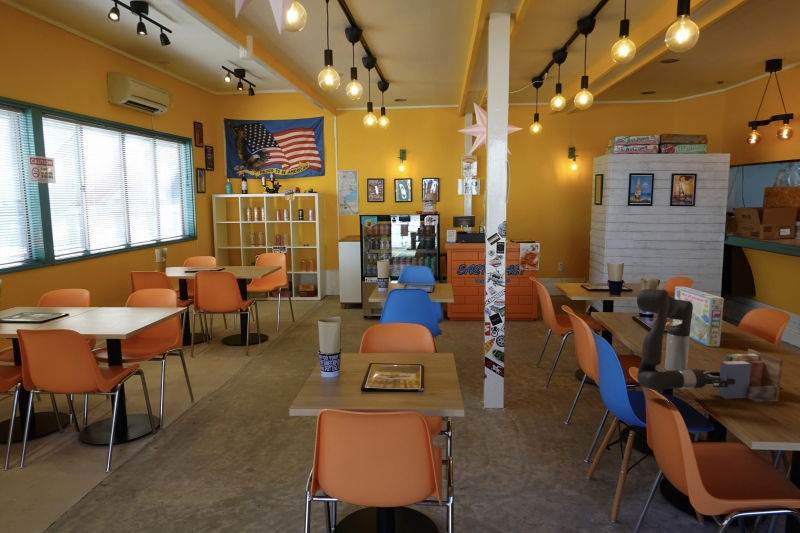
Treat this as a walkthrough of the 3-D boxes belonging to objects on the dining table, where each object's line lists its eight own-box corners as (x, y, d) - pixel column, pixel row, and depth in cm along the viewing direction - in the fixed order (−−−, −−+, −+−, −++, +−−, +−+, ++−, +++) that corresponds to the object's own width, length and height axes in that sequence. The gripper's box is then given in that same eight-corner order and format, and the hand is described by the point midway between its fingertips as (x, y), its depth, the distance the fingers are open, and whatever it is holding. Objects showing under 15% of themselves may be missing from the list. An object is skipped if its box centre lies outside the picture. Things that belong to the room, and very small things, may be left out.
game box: (720, 347, 288) (724, 298, 285) (707, 347, 288) (711, 297, 285) (683, 329, 328) (686, 286, 325) (671, 329, 328) (674, 286, 325)
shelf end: (754, 401, 208) (758, 362, 206) (721, 385, 226) (724, 349, 224) (782, 401, 209) (786, 361, 207) (747, 384, 228) (750, 348, 226)
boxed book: (725, 398, 211) (727, 364, 210) (718, 395, 215) (720, 361, 214) (748, 397, 212) (751, 363, 211) (740, 394, 216) (743, 360, 215)
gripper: (702, 375, 203) (740, 374, 205) (678, 364, 217) (715, 363, 219) (700, 394, 204) (739, 393, 206) (677, 382, 218) (713, 381, 220)
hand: (726, 377), depth 212 cm, fingers open, 8 cm apart
